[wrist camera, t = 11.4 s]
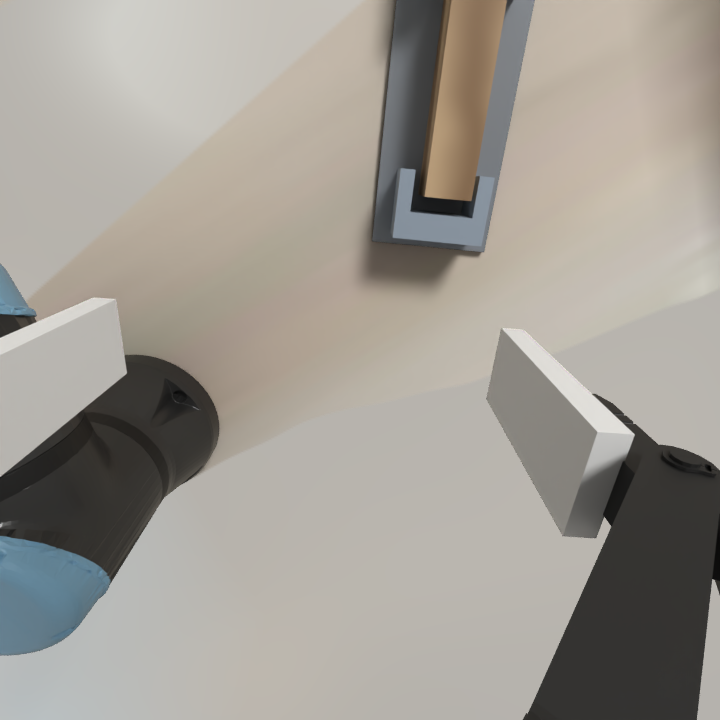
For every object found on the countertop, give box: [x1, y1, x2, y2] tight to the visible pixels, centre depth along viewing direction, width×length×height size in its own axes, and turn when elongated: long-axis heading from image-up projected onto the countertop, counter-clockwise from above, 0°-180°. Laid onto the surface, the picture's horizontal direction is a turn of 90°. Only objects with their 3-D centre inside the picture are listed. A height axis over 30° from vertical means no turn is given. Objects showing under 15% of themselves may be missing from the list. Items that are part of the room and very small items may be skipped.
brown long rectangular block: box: [418, 0, 507, 201], centre depth 31 cm, size 4×16×5 cm, turn 175°
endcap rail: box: [372, 0, 535, 252], centre depth 32 cm, size 10×24×5 cm, turn 175°
